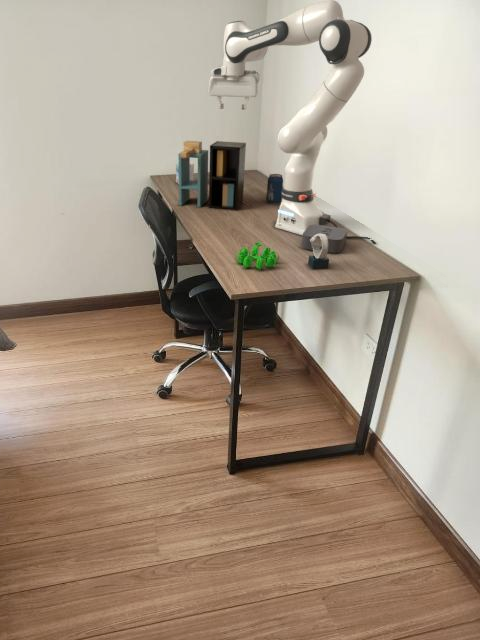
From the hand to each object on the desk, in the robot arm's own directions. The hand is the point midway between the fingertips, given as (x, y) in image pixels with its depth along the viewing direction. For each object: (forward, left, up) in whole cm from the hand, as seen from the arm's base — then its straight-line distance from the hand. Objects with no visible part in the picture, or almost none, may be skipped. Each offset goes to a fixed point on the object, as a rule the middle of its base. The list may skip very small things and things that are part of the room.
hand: (232, 109), depth 221 cm
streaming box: (-62, +1, -40) cm, 73 cm away
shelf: (+1, +1, -40) cm, 40 cm away
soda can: (-6, -21, -40) cm, 46 cm away
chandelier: (-63, +33, -40) cm, 81 cm away
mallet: (+9, +16, -17) cm, 25 cm away
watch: (-76, +17, -40) cm, 87 cm away
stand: (+13, +11, -40) cm, 43 cm away
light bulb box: (+45, -4, -40) cm, 60 cm away
